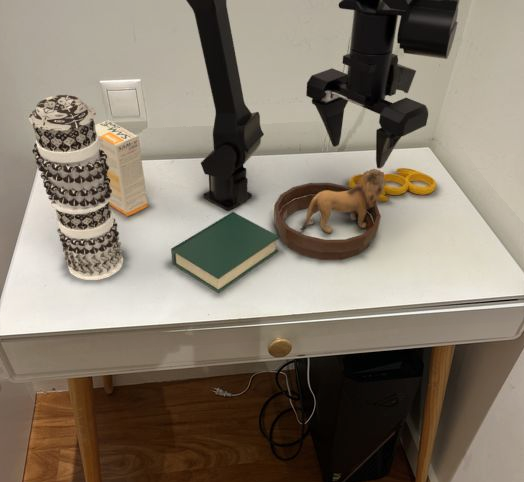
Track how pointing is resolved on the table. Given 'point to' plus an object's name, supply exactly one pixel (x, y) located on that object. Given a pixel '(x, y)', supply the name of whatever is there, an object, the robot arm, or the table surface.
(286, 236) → the ring
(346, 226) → the table surface
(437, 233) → the table surface
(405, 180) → the novelty glasses
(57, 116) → the decorative candle
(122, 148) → the supplement box
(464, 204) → the table surface
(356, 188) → the lion figurine
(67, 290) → the table surface
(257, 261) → the book
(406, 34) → the robot arm
